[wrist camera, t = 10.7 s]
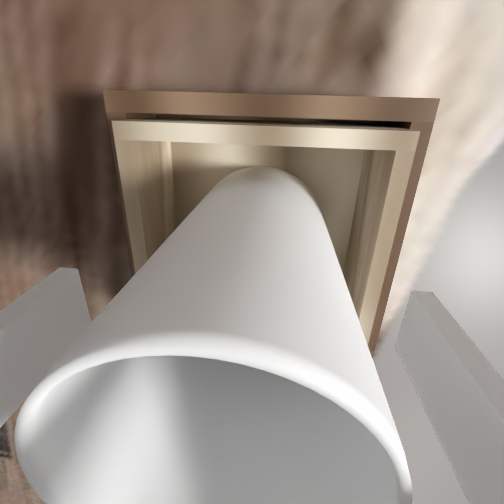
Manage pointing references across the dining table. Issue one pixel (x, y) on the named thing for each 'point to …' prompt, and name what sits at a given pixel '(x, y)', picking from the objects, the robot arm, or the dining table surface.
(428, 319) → the robot arm
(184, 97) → the box
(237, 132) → the birch crate
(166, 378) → the cup
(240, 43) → the dining table surface
